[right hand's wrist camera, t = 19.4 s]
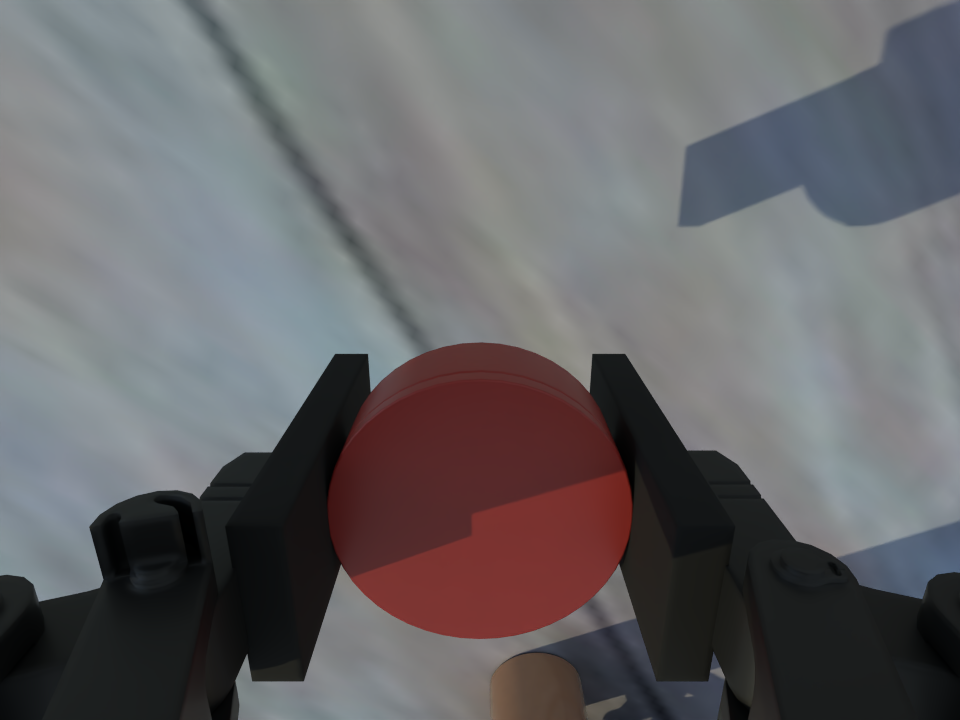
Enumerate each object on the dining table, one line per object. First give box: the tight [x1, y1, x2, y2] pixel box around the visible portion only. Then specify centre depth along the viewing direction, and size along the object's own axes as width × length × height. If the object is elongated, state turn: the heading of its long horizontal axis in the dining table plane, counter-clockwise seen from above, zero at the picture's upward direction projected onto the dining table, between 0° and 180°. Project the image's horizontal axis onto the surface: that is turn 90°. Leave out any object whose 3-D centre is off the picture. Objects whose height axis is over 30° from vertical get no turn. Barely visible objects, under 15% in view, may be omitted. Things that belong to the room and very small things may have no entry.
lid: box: [327, 343, 633, 639], centre depth 11 cm, size 5×5×2 cm
